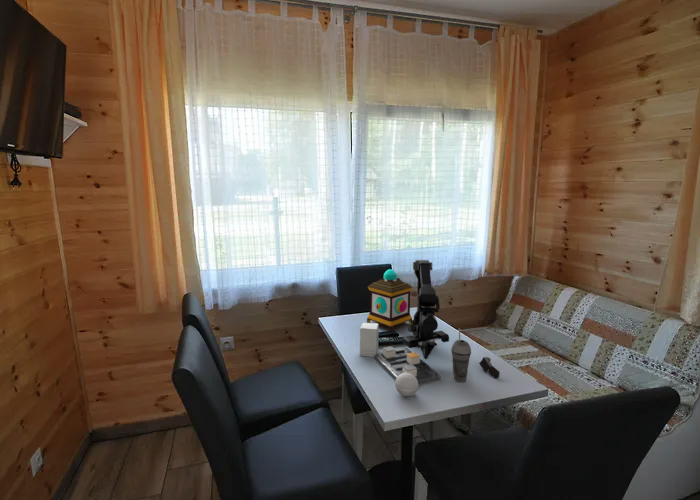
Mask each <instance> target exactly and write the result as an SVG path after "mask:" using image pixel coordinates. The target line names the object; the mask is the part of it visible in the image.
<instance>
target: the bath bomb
mask: <svg viewBox="0 0 700 500" xmlns="http://www.w3.org/2000/svg"><path fill="white" fill-rule="evenodd" d="M394 384H395V385H394V387H395V389H396V391H397V393H398V394H399V395H401V396H403V397H405V398H406V397H407V398H408V397H409V398H410V397H411V396H414V395H415V394H416V393H417V391H418V389H419V384H418V381H417V379H416V377H415V376H414V375H413V374H411V373H408V372H404V373H401V374H400V375H398V377H397V378H396V380H395V382H394Z"/></svg>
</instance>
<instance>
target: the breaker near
mask: <svg viewBox="0 0 700 500" xmlns="http://www.w3.org/2000/svg"><path fill="white" fill-rule="evenodd" d="M404 372H408V373H411V374H413V375H414V376H417V368H416V367H415V366H414V365H412V364H410V365H404V366H403V372H402V373H404Z"/></svg>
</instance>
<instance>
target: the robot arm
mask: <svg viewBox="0 0 700 500" xmlns="http://www.w3.org/2000/svg"><path fill="white" fill-rule="evenodd" d="M414 260H415V261H413V262H412V270H413V274H414V275H415V277H416V279H417V282H416V283H417V284H416V286H417V287H416V288H417V289H416V290H417V291H416V293H417V294H416V297H417V299H416V301H417V302H416V312H415V313H414V314H413V319H412V324H408V326H407V330H408V332H409V333H412V335H406V336H405V335H404V336H403V337H402V344H404V345H405V346H406V348H407V347H408V349H413V348H420V350H421V353H422V357H423V359H424V360H427V359H428V358H429V357H430V355H431V353H432V351H433V350H434V348H435V347H437V346H438V343H437V342H436V340H440V341H441V342H442V343H449V341H450V336H449V334H448V333H446V332H445V331H443V330H438V331H436V330H437V329H438V327H439V325H438V320H437V318H436V316H435V313H439V310H440V298H439V296H438V295H437V293H436V289H435V288H434V287H433V286H432V277H431V271H433V262H431V261H430V260H429V259H414Z"/></svg>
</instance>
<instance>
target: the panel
mask: <svg viewBox="0 0 700 500" xmlns="http://www.w3.org/2000/svg"><path fill="white" fill-rule="evenodd" d="M408 353H414V352H413V351H411V350H410V348H409V347H408V348H407V347H404V349H400V350H396V353H395V357H391V358H385V357H384V356H383V352H382V353H379V352H377V353H376V355H374V360H375V361H376V362H377V363H378V364H380V366H381V367H382V368H383V369H384V370H385V371H386V372H387V373H388V374H389V375H390V377H392V378H393V379H394V380H395V381H396V378H397V377H398V375H400V374H401V373H402V372H403V366H404V365H410V364H409V363H408V362H407V354H408ZM412 365H414V366H415V367H416V368H417V376H415V377H416V379H417V381H418V385H422V384H426V383H431V382H436V381H439V380H441V376H440V374H439V373H438V372H437V371H436V370H435V369H434V368H432V367H431V366H430V365H429V364H428V363H426V362H425V361H424V360H423V359H421V358H420V363H418V364H412Z"/></svg>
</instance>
